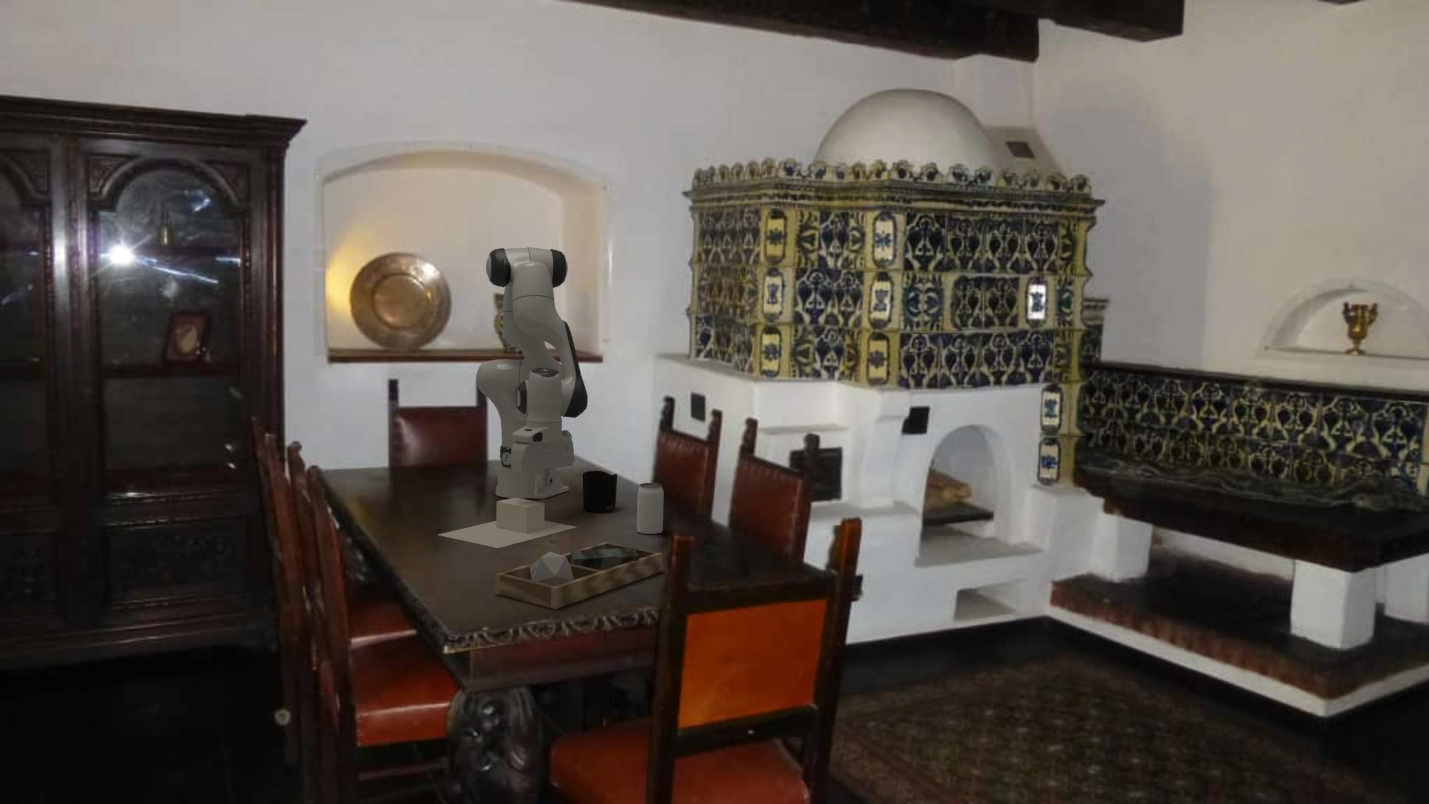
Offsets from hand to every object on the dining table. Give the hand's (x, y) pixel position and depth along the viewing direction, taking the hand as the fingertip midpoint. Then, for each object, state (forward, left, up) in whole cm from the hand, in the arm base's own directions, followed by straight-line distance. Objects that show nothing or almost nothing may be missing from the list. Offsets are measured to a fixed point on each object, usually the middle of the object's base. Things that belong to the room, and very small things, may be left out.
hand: (543, 486), depth 272 cm
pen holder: (-23, 0, -10) cm, 25 cm away
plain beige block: (+8, 0, -9) cm, 12 cm away
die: (+43, +42, -10) cm, 61 cm away
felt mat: (+12, 0, -10) cm, 15 cm away
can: (-11, +26, -10) cm, 30 cm away
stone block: (+27, +41, -10) cm, 50 cm away
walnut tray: (+34, +42, -10) cm, 54 cm away
